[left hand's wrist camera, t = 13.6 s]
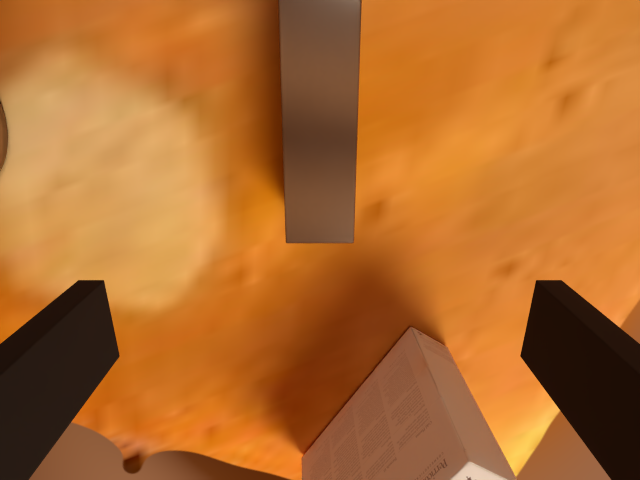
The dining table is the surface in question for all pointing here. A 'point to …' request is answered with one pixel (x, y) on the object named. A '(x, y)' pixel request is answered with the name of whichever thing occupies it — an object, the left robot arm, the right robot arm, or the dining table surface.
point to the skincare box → (409, 424)
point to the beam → (319, 117)
